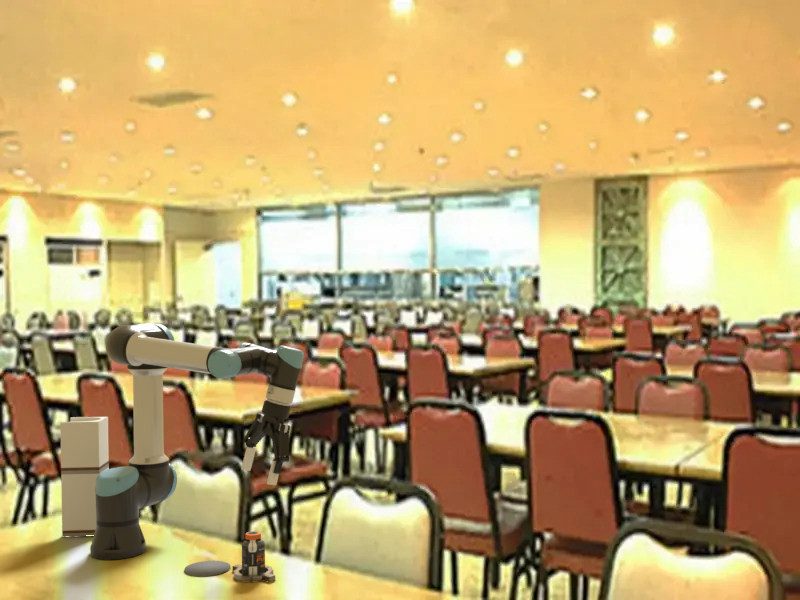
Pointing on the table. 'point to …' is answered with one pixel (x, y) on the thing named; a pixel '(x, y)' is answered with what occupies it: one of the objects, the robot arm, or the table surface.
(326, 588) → the table surface
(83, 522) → the beige tall box
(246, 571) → the pill bottle
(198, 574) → the coaster
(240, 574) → the collar
